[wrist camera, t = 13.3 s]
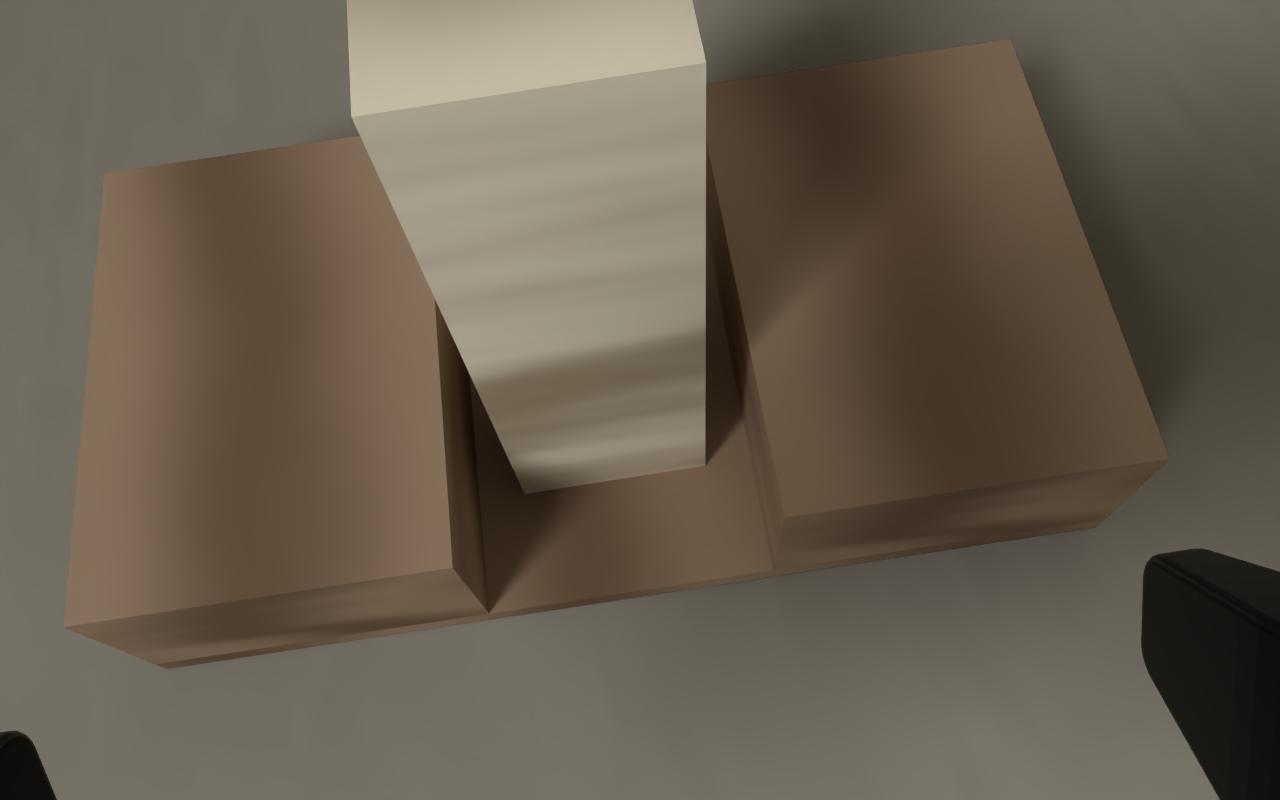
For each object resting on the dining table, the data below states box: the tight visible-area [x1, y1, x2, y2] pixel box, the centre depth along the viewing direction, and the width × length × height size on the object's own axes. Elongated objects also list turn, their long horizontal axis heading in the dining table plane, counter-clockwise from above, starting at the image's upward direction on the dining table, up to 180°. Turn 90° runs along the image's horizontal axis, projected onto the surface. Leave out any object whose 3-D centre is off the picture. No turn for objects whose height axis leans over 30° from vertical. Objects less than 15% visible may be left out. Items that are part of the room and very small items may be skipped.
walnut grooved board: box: [63, 39, 1170, 669], centre depth 23 cm, size 20×10×4 cm, turn 98°
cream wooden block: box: [347, 0, 706, 494], centre depth 19 cm, size 5×4×12 cm
